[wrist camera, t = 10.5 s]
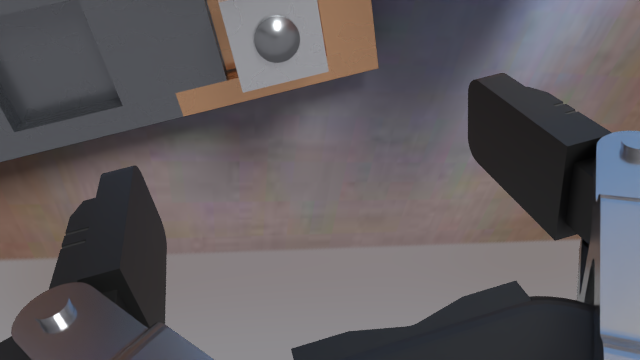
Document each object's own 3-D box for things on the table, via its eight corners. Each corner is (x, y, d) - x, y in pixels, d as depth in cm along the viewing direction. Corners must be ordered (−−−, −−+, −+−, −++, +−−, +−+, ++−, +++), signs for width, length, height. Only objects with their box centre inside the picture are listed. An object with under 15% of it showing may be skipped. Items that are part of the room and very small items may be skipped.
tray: (-13, 148, 31) (-27, 168, 29) (-106, -3, 26) (-130, 8, 24) (366, 55, 33) (378, 68, 31) (347, -101, 28) (360, -98, 26)
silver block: (233, 58, 30) (243, 94, 26) (212, -21, 28) (218, 3, 23) (307, 40, 31) (329, 73, 26) (292, -39, 28) (314, -19, 24)
